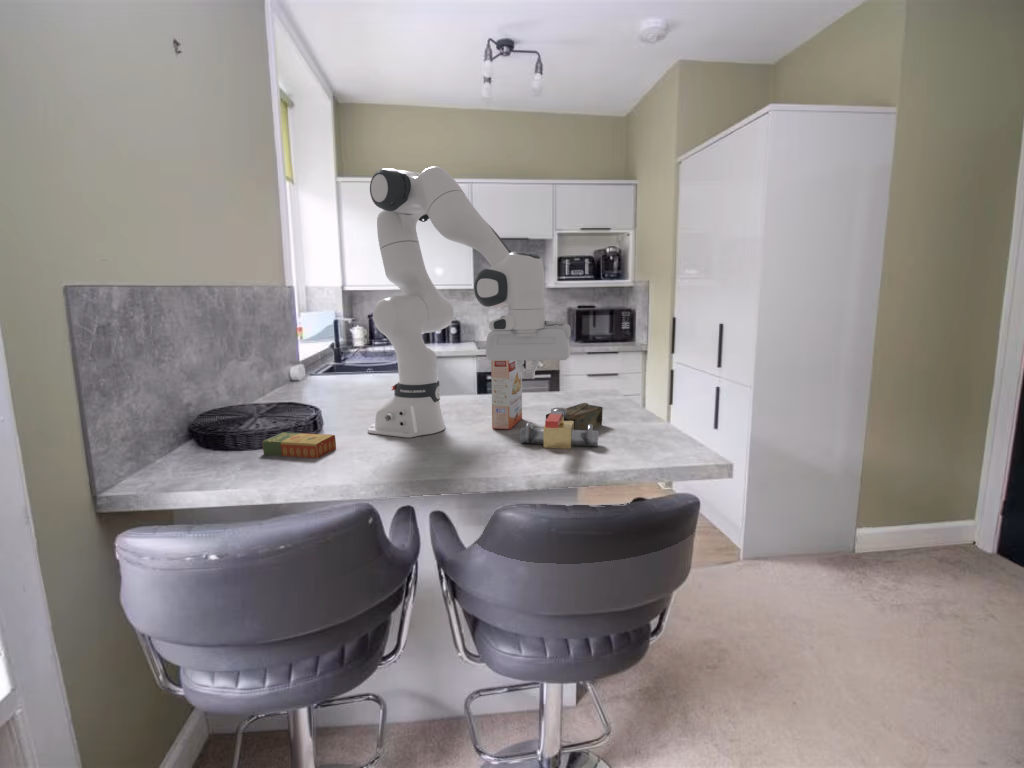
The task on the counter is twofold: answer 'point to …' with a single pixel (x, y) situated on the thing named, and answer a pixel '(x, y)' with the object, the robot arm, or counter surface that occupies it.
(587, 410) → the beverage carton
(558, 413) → the lever
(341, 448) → the counter surface
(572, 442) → the valve body
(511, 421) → the cracker box
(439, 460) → the counter surface
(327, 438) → the carton
